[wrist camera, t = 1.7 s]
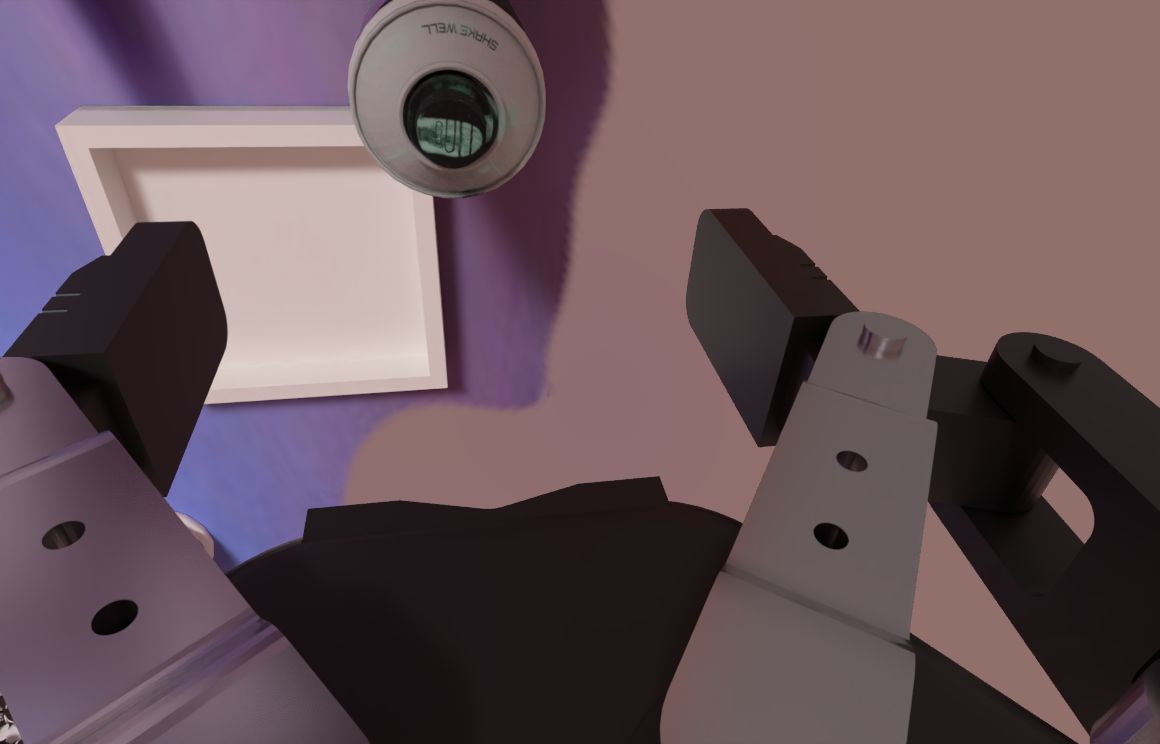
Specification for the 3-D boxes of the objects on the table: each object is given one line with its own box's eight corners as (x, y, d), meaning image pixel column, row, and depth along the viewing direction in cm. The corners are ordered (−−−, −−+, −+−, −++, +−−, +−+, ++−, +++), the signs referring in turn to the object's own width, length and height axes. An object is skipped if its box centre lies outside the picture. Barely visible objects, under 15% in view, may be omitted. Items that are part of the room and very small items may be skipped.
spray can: (517, 28, 34) (595, 183, 18) (419, 78, 35) (413, 270, 19) (463, -95, 31) (503, -34, 15) (355, -37, 31) (285, 80, 16)
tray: (81, 105, 33) (54, 125, 30) (426, 106, 35) (426, 124, 33) (180, 375, 42) (165, 406, 40) (446, 359, 45) (447, 388, 43)
